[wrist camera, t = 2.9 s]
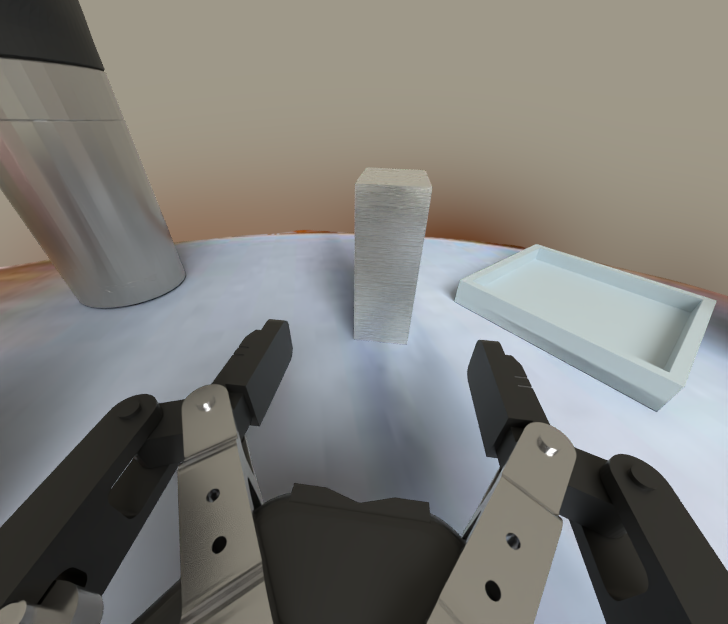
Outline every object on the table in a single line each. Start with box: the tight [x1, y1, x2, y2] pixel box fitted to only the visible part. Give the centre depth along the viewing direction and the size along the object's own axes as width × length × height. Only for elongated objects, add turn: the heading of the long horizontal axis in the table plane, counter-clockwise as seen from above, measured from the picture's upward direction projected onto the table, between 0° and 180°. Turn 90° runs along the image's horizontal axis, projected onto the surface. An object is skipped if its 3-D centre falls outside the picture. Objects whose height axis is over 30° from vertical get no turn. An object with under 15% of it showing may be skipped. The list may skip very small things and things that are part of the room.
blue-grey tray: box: [454, 244, 716, 412], centre depth 26 cm, size 16×16×2 cm
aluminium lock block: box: [354, 168, 432, 345], centre depth 21 cm, size 4×6×12 cm
